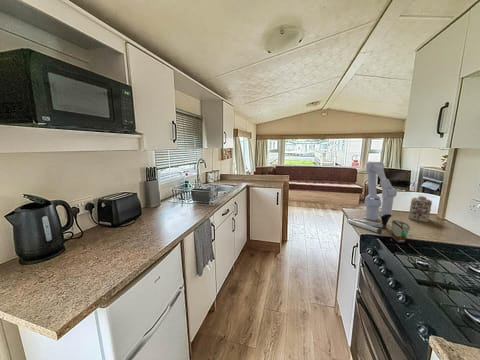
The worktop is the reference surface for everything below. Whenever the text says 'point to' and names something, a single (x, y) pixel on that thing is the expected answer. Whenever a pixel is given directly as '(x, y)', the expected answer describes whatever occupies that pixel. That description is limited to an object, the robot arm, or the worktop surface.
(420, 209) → the decorative jar
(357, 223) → the fixed tong arm
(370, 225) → the hinged tong arm
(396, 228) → the food container
